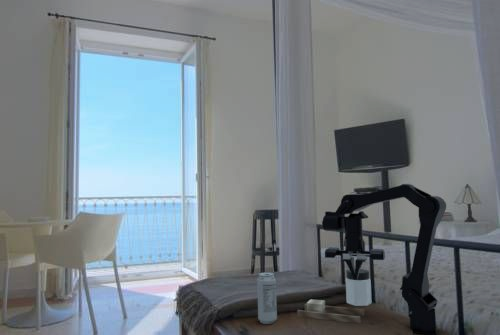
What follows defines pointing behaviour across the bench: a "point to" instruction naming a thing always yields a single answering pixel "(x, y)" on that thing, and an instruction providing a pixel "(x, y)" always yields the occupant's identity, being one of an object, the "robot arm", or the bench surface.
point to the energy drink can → (267, 298)
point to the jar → (358, 288)
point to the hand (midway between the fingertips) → (355, 280)
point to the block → (316, 305)
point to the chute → (333, 316)
